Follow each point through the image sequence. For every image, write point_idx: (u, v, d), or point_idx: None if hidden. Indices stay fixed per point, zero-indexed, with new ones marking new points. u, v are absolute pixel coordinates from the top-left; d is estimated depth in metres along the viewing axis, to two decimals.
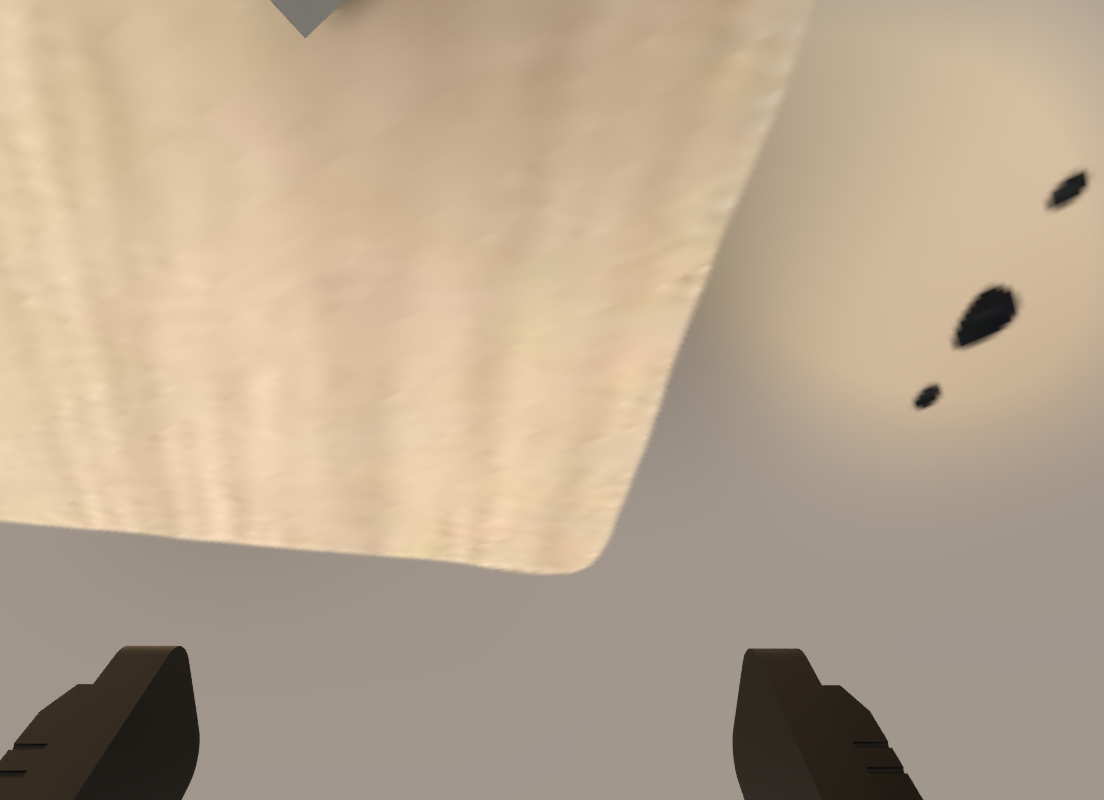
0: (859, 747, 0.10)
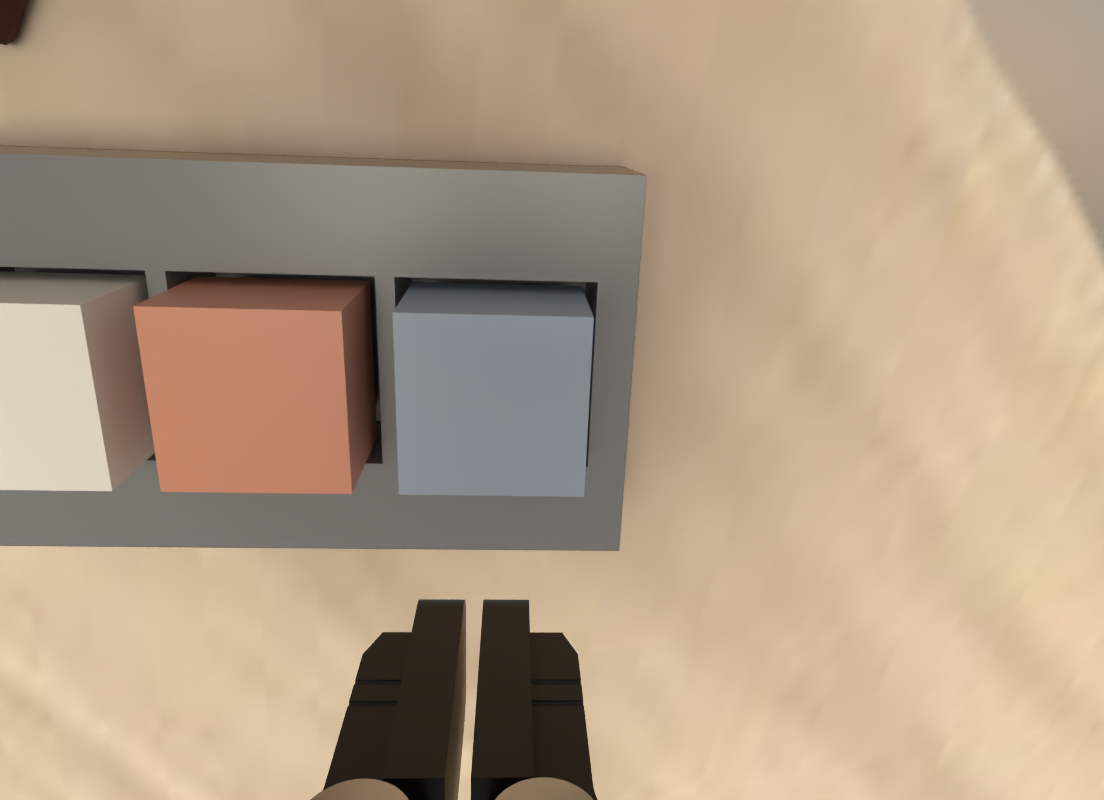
0: (552, 684, 0.10)
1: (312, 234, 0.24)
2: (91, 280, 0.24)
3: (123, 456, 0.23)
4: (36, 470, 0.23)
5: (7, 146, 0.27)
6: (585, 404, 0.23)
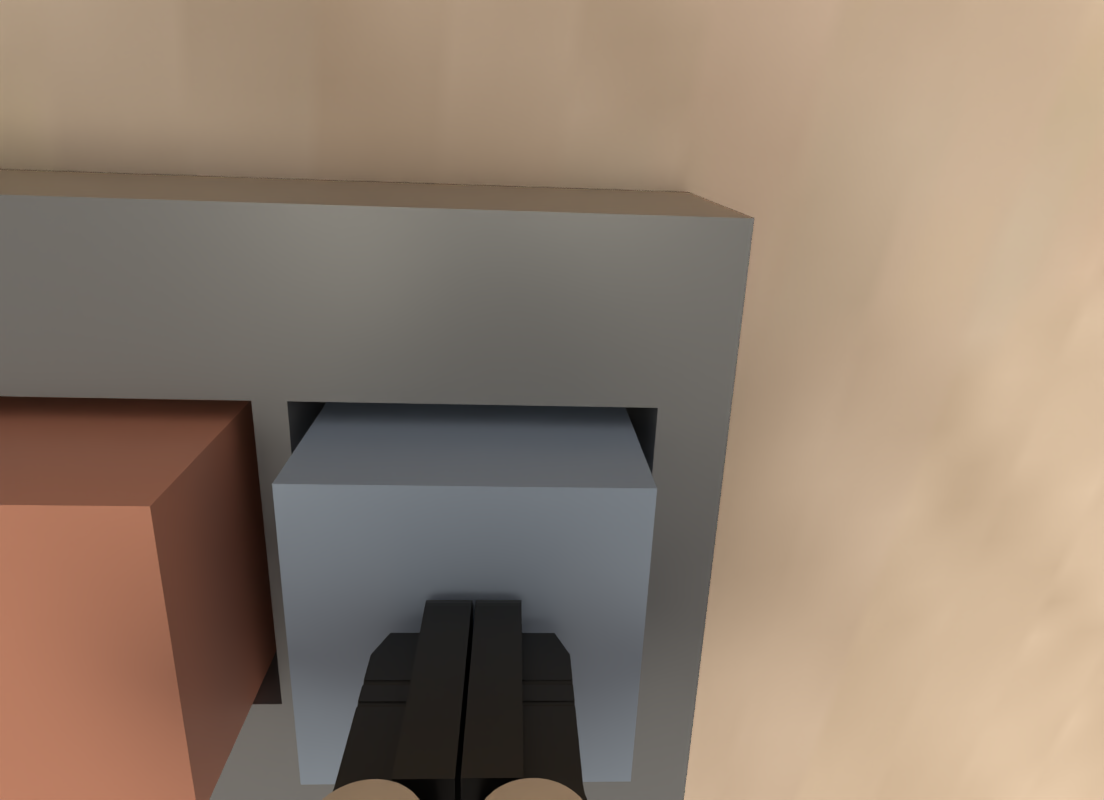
0: (544, 684, 0.10)
1: (129, 327, 0.13)
2: None
3: None
4: None
5: None
6: (637, 636, 0.12)
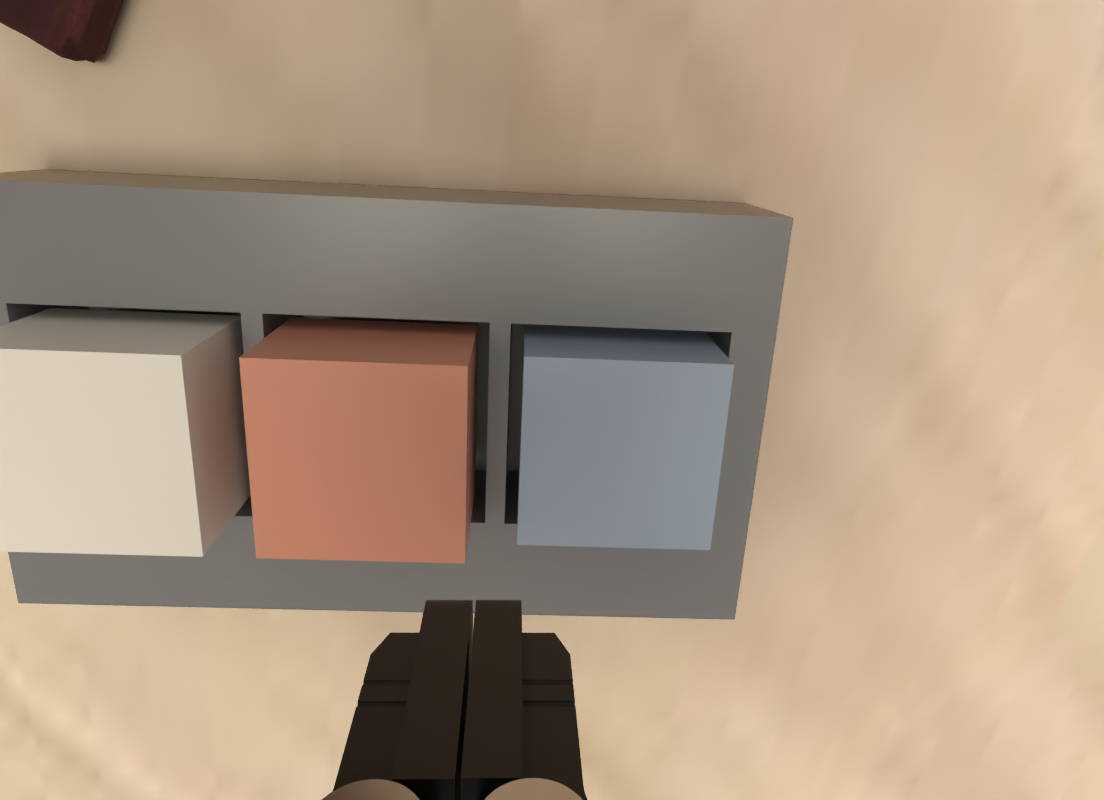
0: (543, 684, 0.10)
1: (424, 276, 0.22)
2: (181, 322, 0.22)
3: (213, 516, 0.21)
4: (121, 533, 0.20)
5: (85, 172, 0.25)
6: (718, 454, 0.21)
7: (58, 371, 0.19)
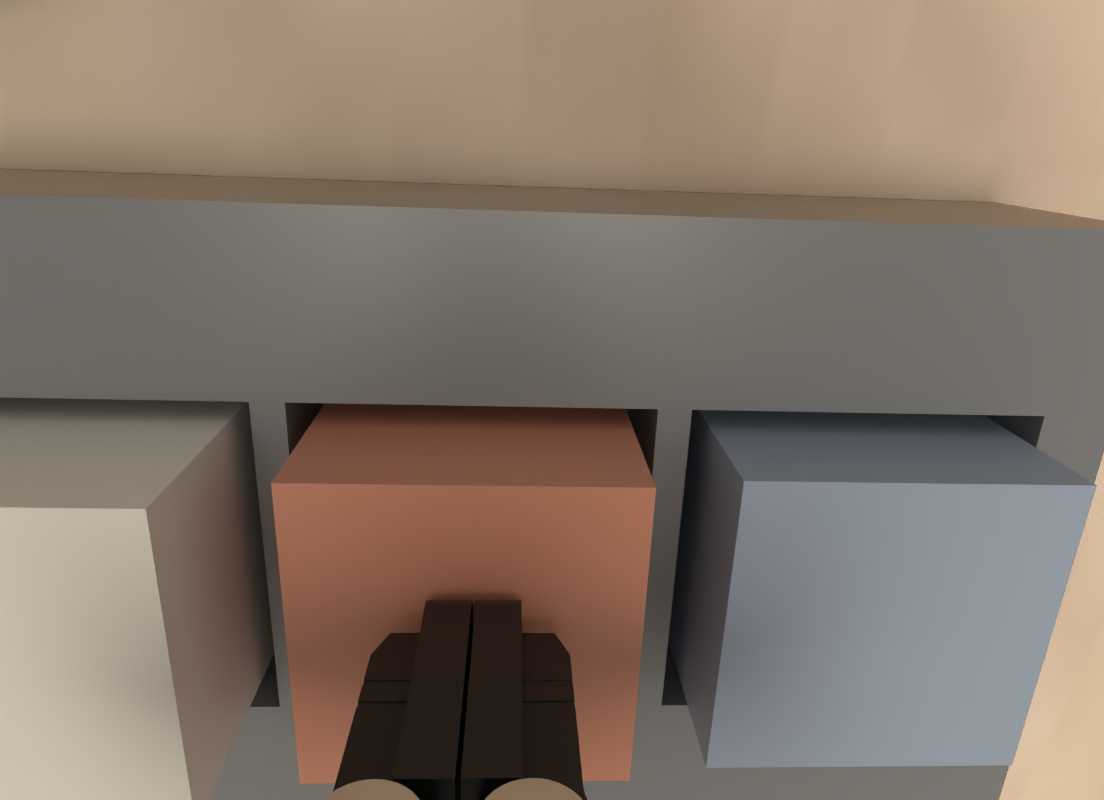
0: (544, 684, 0.10)
1: (555, 338, 0.13)
2: (150, 417, 0.13)
3: (211, 746, 0.13)
4: (53, 796, 0.12)
5: None
6: (1048, 626, 0.13)
7: None
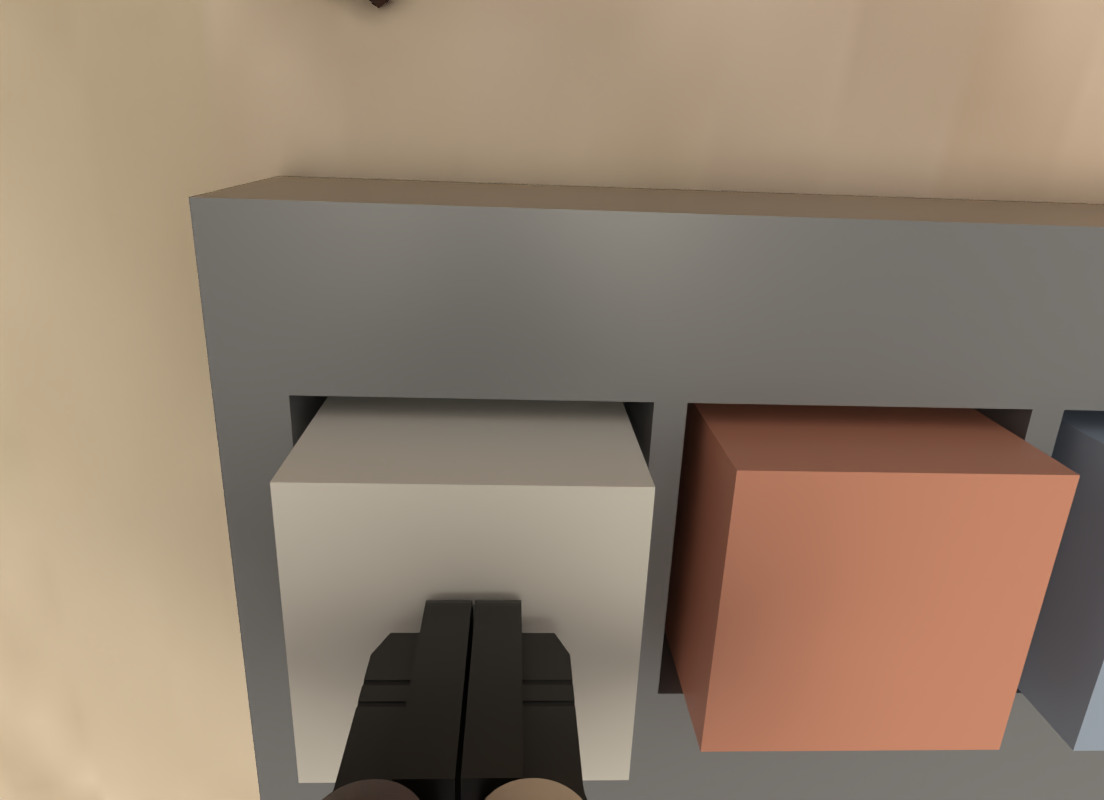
0: (543, 684, 0.10)
1: (949, 342, 0.14)
2: (552, 407, 0.14)
3: None
4: None
5: (344, 179, 0.17)
6: None
7: (452, 516, 0.11)
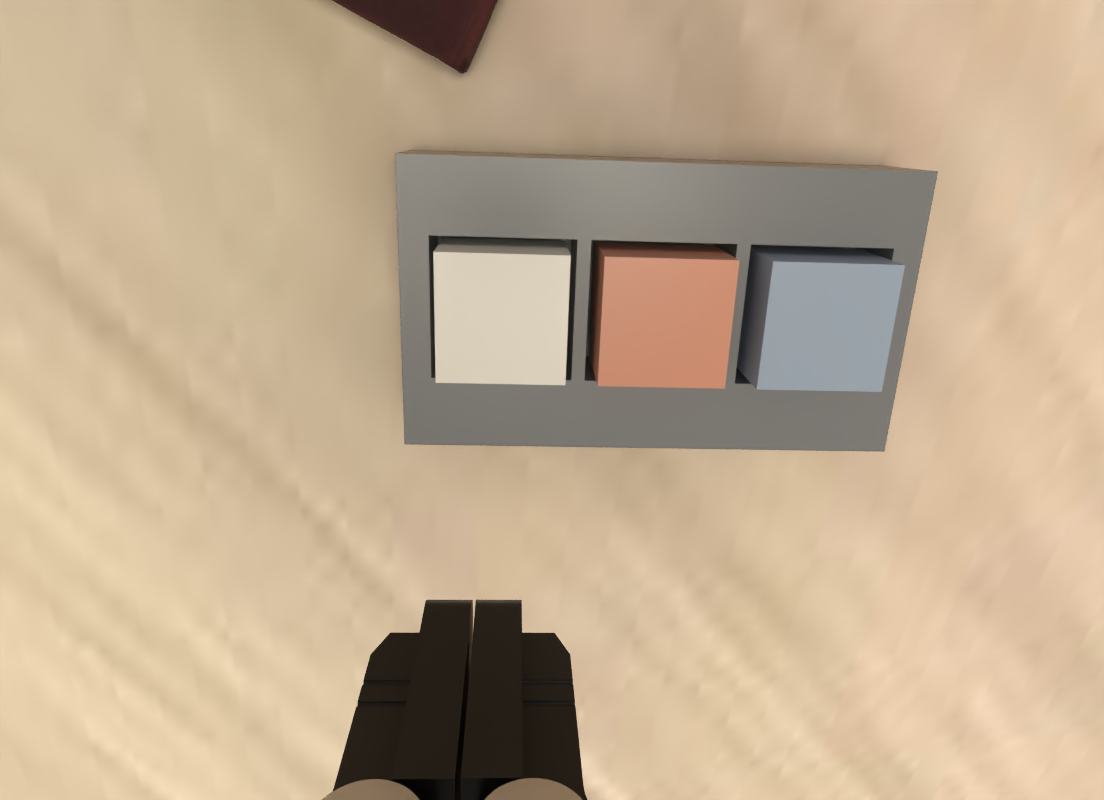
0: (543, 684, 0.10)
1: (698, 213, 0.33)
2: (535, 243, 0.35)
3: None
4: (518, 370, 0.33)
5: (441, 151, 0.36)
6: (891, 325, 0.33)
7: (497, 266, 0.32)
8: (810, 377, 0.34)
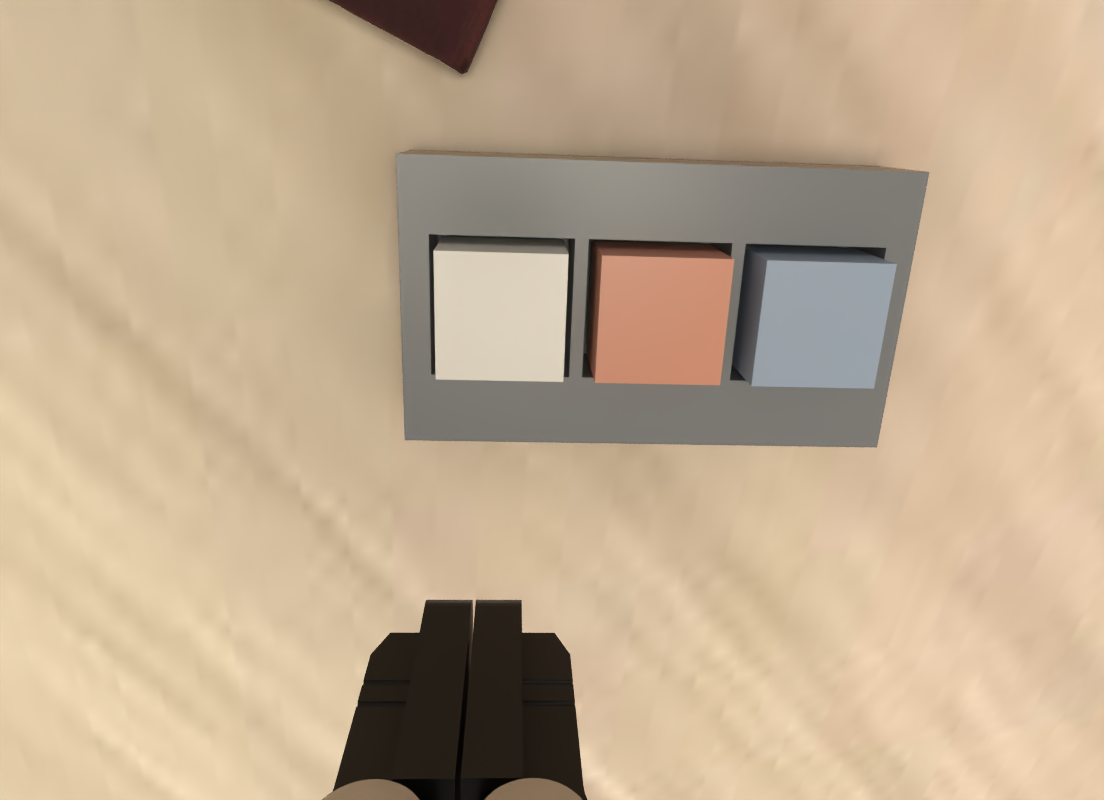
0: (543, 684, 0.10)
1: (694, 213, 0.34)
2: (534, 242, 0.35)
3: None
4: (517, 367, 0.34)
5: (441, 151, 0.37)
6: (883, 323, 0.34)
7: (496, 264, 0.32)
8: (804, 374, 0.34)
